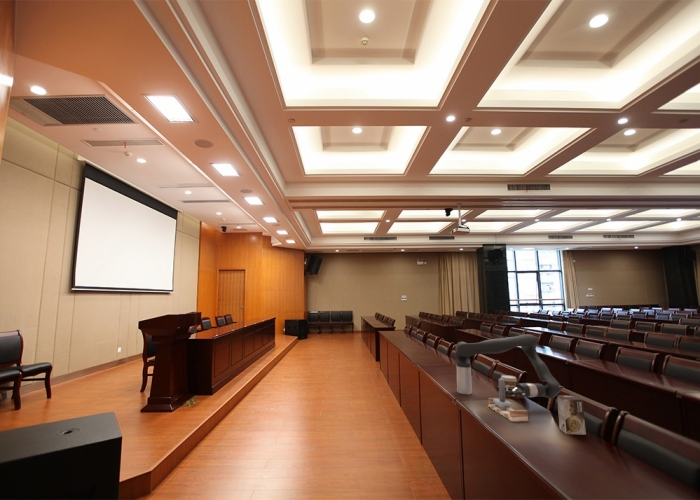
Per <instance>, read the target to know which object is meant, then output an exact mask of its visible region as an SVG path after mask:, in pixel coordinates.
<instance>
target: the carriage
mask: <svg viewBox="0 0 700 500" xmlns="http://www.w3.org/2000/svg"><path fill="white" fill-rule="evenodd" d="M498 387H499V391H498V395H499V397H498V398H499V399H493V402H494V403H495V405H497V406H499V407H500V408H502V409H505V406H508V407H513V404H514V403H513V402H511V401H510V400H507V399H506V396H505V384H504V379H501V378H498Z"/></svg>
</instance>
